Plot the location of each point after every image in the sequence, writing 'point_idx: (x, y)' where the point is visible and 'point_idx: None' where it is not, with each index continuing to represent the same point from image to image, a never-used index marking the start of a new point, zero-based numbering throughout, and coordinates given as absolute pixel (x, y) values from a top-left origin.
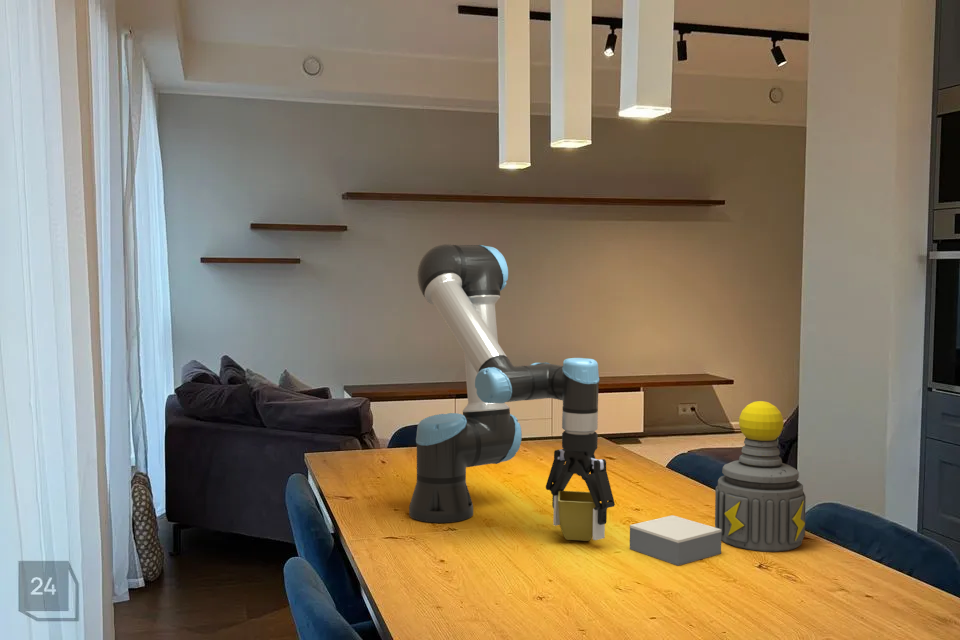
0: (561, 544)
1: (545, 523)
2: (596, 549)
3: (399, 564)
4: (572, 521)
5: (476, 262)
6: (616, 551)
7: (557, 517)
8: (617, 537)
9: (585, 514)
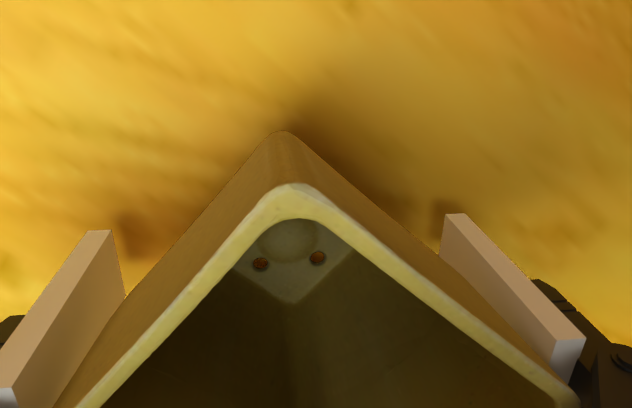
0: (273, 106)
1: (577, 259)
2: (93, 208)
3: None
4: (210, 205)
5: None
6: (14, 269)
7: (463, 250)
8: None
9: (129, 312)
